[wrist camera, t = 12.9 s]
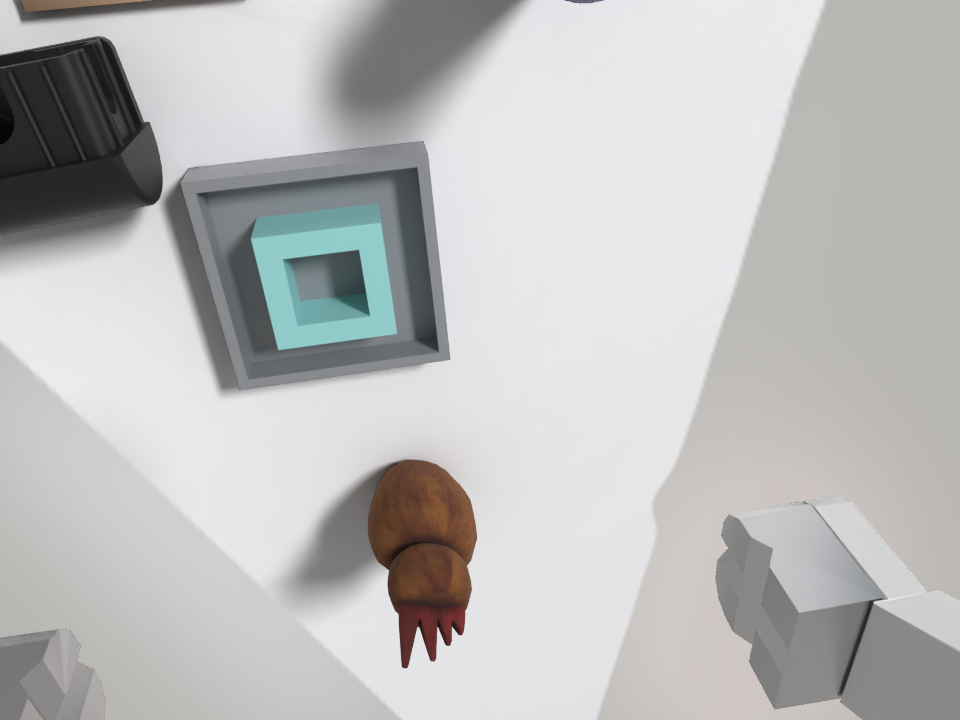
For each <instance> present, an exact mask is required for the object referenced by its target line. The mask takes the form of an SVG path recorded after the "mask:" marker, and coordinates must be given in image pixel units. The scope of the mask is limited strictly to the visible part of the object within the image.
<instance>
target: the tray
mask: <svg viewBox="0 0 960 720" xmlns="http://www.w3.org/2000/svg"><path fill="white" fill-rule="evenodd" d="M180 184H181V188H182V191H183V194H184V198H185V201H186V205H187V208H188V212H189V215H190V219H191V222H192V226H193V229H194V233H195V236H196V239H197V243H198V246H199V250H200V253H201V257H202V260H203V264H204V267H205V271H206V274H207V278H208V281H209V284H210V288H211V291H212V295H213V298H214V302H215V305H216V309H217V312H218V316H219V319H220V323H221V326H222V329H223V333H224V336H225V340H226V343H227V347H228V350H229V354H230V357H231V361H232V364H233V368H234V371H235V374H236V378H237V381H238V385H239V388H240V390H243V389H250V388H257V387H264V386H271V385H278V384H285V383H292V382H299V381H306V380H313V379H320V378H327V377H334V376H341V375H348V374H355V373H362V372H369V371H375V370H382V369H389V368H396V367H403V366H410V365H417V364H424V363H431V362H438V361H445V360H450V352H449V342H448V333H447V324H446V315H445V306H444V297H443V288H442V278H441V269H440V260H439V251H438V242H437V233H436V224H435V214H434V205H433V196H432V187H431V178H430V169H429V159H428V153H427V150H426V147H425V144H424V141H420V142H411V143H402V144H394V145H385V146H376V147H368V148H359V149H350V150H342V151H333V152H324V153H316V154H307V155H298V156H290V157H281V158H272V159H264V160H255V161H246V162H238V163H229V164H220V165H212V166H203V167H194V168H189V169H188V171H187V172H186V174H185V176H184V177H183V179H182V181H181V182H180ZM376 203H378V204H379V211H380V218H381V225H382V231H383V238H384V245H385V252H386V258H387V265H388V272H389V279H390V286H391V292H392V299H393V306H394V313H395V321H396V329H397V334H392V335H385V336H378V337H371V338H363V339H356V340H349V341H342V342H334V343H327V344H320V345H313V346H305V347H298V348H291V349H284V350H278V347H277V343H276V339H275V335H274V331H273V326H272V322H271V318H270V314H269V310H268V306H267V302H266V298H265V294H264V290H263V286H262V282H261V278H260V274H259V270H258V266H257V261H256V257H255V253H254V249H253V245H252V241H251V237H252V233H253V230H254V226H255V222H256V219H257V218H260V217H269V216H277V215H285V214H293V213H302V212H310V211H318V210H327V209H335V208H343V207H351V206H360V205H368V204H376ZM291 261H292V266H293V270H294V275H295V279H296V284H297V288H298V293H299V298H300V301H308V300H315V299H323V298H331V297H338V296H346V295H353V294H361V293H366V288H365V282H364V276H363V270H362V264H361V258H360V252H359V250H353V251H345V252H337V253H329V254H321V255H313V256H305V257H298V258H291Z"/></svg>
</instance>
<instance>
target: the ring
mask: <svg viewBox="0 0 960 720" xmlns="http://www.w3.org/2000/svg"><path fill="white" fill-rule="evenodd" d="M251 241H252V245H253V249H254V253H255V257H256V261H257V266H258V270H259V274H260V278H261V282H262V286H263V290H264V294H265V298H266V302H267V306H268V310H269V314H270V318H271V322H272V326H273V331H274V335H275V339H276V343H277V347H278V350H284V349H291V348H298V347H305V346H313V345H320V344H327V343H334V342H342V341H349V340H356V339H363V338H371V337H378V336H385V335H392V334H397V329H396V321H395V313H394V306H393V299H392V292H391V286H390V279H389V272H388V265H387V258H386V252H385V245H384V238H383V231H382V225H381V218H380V211H379V204H378V203H376V204H368V205H360V206H351V207H343V208H335V209H327V210H318V211H310V212H302V213H293V214H285V215H277V216H269V217H260V218H257V219H256V222H255V226H254V230H253V233H252V237H251ZM353 250H359V252H360V258H361V264H362V270H363V276H364V282H365V288H366V293H361V294H353V295H346V296H338V297H331V298H323V299H315V300H308V301H300V298H299V293H298V288H297V284H296V279H295V275H294V270H293V266H292V261H291V258H298V257H305V256H313V255H321V254H329V253H337V252H345V251H353Z"/></svg>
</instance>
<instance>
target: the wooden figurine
mask: <svg viewBox="0 0 960 720" xmlns="http://www.w3.org/2000/svg"><path fill="white" fill-rule="evenodd" d="M368 535H369V541H370V544H371V547H372V549H373V552H374V554H375V556H376V558H377V560H378V562H379V563H381V564H382V565H383V566H384V567H386V568H387V569H388V570H389V575H388V593H389V596H390V599H391V602H392V605H393V607H394V609H395V611H396V612H397V613H398V614H399V633H400V647H401V662H402V667H403V668H408V665H409V661H410V656H411V652H412V647H413V643H414V639H415V634H416V630H417V627H420V630H421V633H422V636H423V639H424V643H425V646H426V649H427V652H428V655H429V658H430V660H431V661H435V660H436V645H437V627H438V628H439V630H440V633H441V635H442V638H443V640H444V642H445V645H447V646H450V644H451V641H452V627H453V628H454V629H455V631H456V632H457V633H458V635H462V634H463V631H464V625H465V610H466V609H467V606H468V602H469V598H470V595H471V591H472V587H471V580H470V576H469V572H468V568H467V565H468V564H469V562H470V561H471V558H472V555H473V551H474V547H475V544H476V540H477V533H476V524H475V519H474V514H473V509H472V505H471V501H470V499H469V497H468V496H467V494H466V492H465V491H464V490H463V488H462V487H461V486H460V485H459V484H458V483H457V482H456V481H455V480H454V479H453V478H452V476H451V475H450V474H449V473H448V472H447V471H446V470H444V469H443V468H441V467H439V466H438V465H436V464H433V463H430V462H427V461H421V460H408V461H404V462H400V463H398V464H396V465H395V466H393V467H392V468H390V469H389V470H388V471H387V473H386V474H385V475H384V476H383V478H382V479H381V480H380V482H379V483H378V485H377V487H376V490H375V494H374V497H373V500H372V503H371V506H370V511H369V516H368Z"/></svg>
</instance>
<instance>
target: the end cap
mask: <svg viewBox="0 0 960 720" xmlns="http://www.w3.org/2000/svg"><path fill="white" fill-rule="evenodd" d="M162 185H163V176H162V166H161V161H160V155H159V151H158V147H157V143H156V140H155V136H154V133H153V130H152V128H151V125H150V122H143V118H142V116H141V113H140V110H139V108H138V105H137V103H136V100H135V98H134V95H133V92H132V90H131V87H130V85H129V82H128V80H127V77H126V74H125V72H124V69H123V67H122V64H121V62H120V59H119V57H118V54H117V51H116V49H115V47H114V45H113V44H112V42H111V41H110V40H108V39H107V38H105V37H99V36H97V37H92V38H87V39H81V40H76V41H71V42H65V43H60V44H55V45H50V46H44V47H39V48H34V49H29V50H23V51H18V52H13V53H8V54H2V55H0V236H1V235H6V234H11V233H15V232H20V231H25V230H30V229H35V228H40V227H45V226H50V225H55V224H60V223H65V222H70V221H75V220H80V219H85V218H90V217H95V216H100V215H105V214H109V213H114V212H119V211H124V210H129V209H134V208H139V207H144V206H149V205H153V204H155V203H156V202H157V201H158V200H159V198H160V195H161V192H162Z"/></svg>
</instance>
